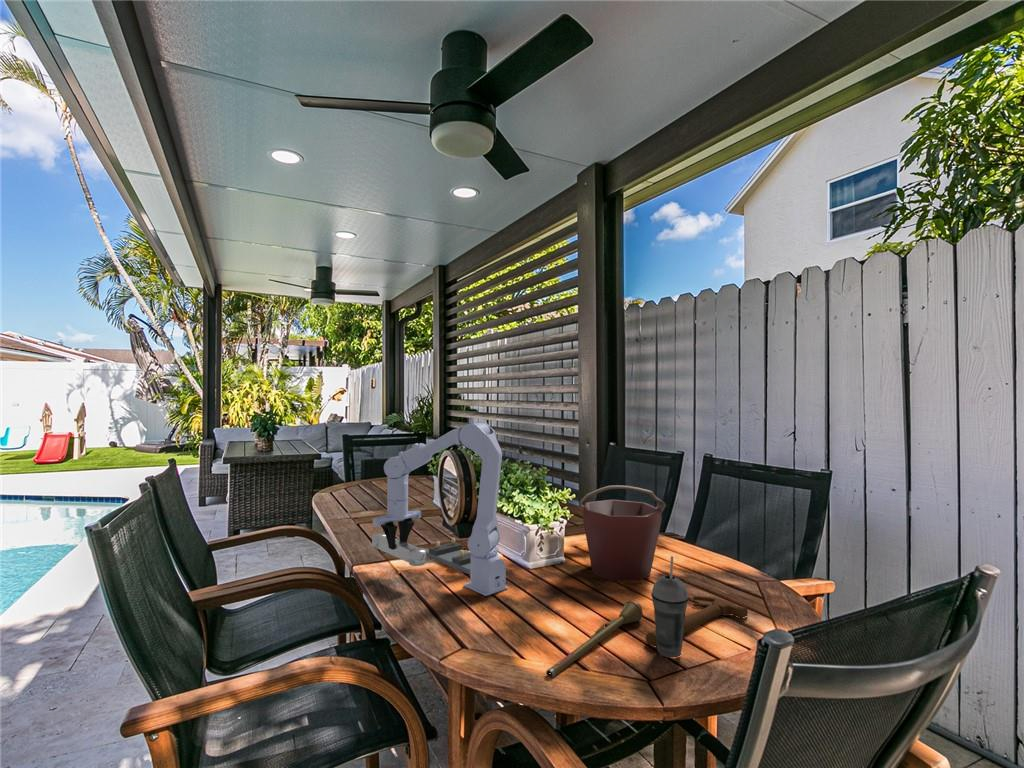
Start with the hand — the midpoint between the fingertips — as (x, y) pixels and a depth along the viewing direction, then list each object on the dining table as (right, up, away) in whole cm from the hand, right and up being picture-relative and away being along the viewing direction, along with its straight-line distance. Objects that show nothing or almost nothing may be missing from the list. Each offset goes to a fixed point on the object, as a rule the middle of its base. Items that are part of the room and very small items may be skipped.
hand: (397, 547), depth 150 cm
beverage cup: (+64, -9, -42) cm, 77 cm away
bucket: (+64, -9, +6) cm, 65 cm away
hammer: (+72, -10, -29) cm, 78 cm away
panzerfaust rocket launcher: (+51, -9, -37) cm, 64 cm away
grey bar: (0, -2, 0) cm, 2 cm away
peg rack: (+15, -9, +15) cm, 23 cm away
